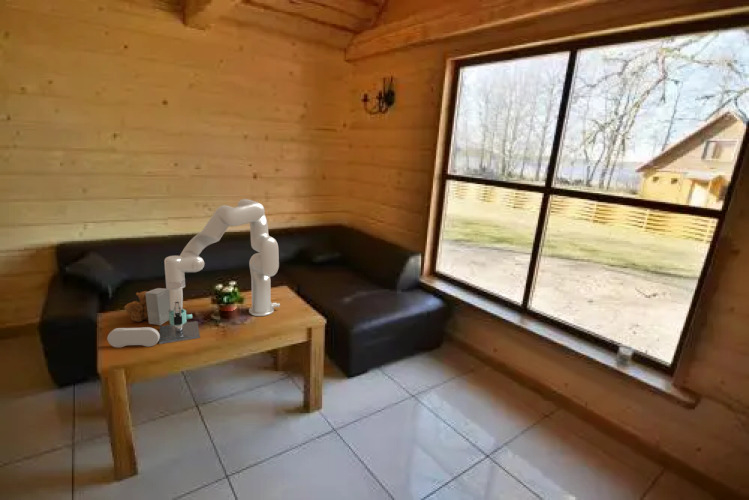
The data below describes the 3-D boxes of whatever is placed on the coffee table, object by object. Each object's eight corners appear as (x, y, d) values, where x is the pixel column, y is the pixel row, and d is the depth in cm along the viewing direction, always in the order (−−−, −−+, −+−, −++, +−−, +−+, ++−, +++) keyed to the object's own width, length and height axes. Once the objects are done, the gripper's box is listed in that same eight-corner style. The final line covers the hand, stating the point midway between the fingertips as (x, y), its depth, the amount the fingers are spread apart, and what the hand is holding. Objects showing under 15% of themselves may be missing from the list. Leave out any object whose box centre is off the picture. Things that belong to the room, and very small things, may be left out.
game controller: (161, 343, 165) (159, 326, 162) (159, 346, 162) (157, 328, 160) (110, 345, 161) (108, 327, 159) (108, 348, 159) (105, 330, 157)
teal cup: (169, 320, 174) (169, 309, 173) (191, 317, 179) (191, 307, 177) (169, 326, 169) (169, 315, 167) (192, 323, 173) (192, 313, 172)
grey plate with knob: (197, 322, 185) (196, 313, 184) (199, 337, 171) (199, 327, 170) (159, 328, 178) (158, 318, 176) (159, 344, 164) (158, 333, 163)
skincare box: (160, 325, 180) (157, 294, 176) (146, 323, 181) (143, 292, 177) (172, 318, 188) (170, 288, 184) (160, 316, 189) (157, 286, 185)
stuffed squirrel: (163, 315, 191) (161, 290, 188) (137, 326, 178) (134, 300, 175) (149, 311, 194) (146, 286, 191) (122, 321, 181) (119, 296, 178)
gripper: (166, 278, 174) (168, 314, 178) (165, 291, 159) (168, 330, 164) (184, 276, 177) (186, 312, 182) (185, 289, 163) (188, 327, 167)
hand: (178, 320), depth 173 cm, fingers closed on teal cup, 6 cm apart
